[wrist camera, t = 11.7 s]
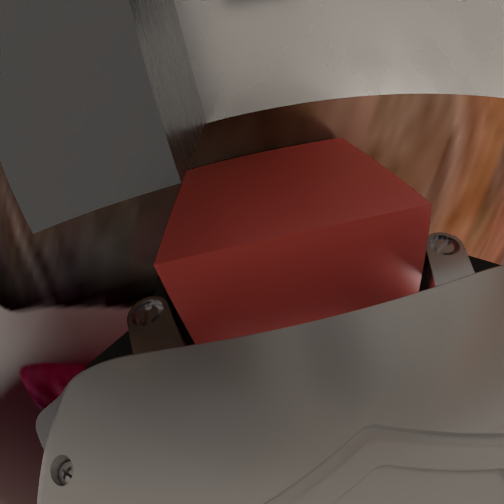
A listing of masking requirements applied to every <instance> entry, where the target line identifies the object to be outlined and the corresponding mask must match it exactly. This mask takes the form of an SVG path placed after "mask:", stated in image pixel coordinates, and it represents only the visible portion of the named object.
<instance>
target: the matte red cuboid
mask: <svg viewBox="0 0 504 504" xmlns="http://www.w3.org/2000/svg"><path fill="white" fill-rule="evenodd" d="M430 215H431V203H430V202H428V201H427V200H426V199H425V198H424V197H422V196H421V195H420V194H419V193H418V192H416V191H415V190H414V189H413V188H411V187H410V186H409V185H407V184H406V183H405V182H404V181H402V180H401V179H400V178H398V177H397V176H396V175H394V174H393V173H392V172H390V171H389V170H388V169H386V168H385V167H384V166H382V165H381V164H379V163H378V162H377V161H375V160H374V159H372V158H371V157H369V156H368V155H367V154H365V153H364V152H362V151H361V150H359V149H358V148H356V147H355V146H353V145H352V144H350V143H349V142H347V141H346V140H344V139H342V138H336V139H329V140H323V141H317V142H311V143H305V144H300V145H294V146H289V147H284V148H279V149H274V150H269V151H264V152H260V153H255V154H250V155H246V156H242V157H237V158H233V159H229V160H225V161H221V162H217V163H213V164H209V165H205V166H201V167H198V168H194V169H190V170H187V172H186V174H185V177H184V180H183V182H182V185H181V187H180V190H179V193H178V195H177V198H176V201H175V204H174V206H173V209H172V212H171V215H170V217H169V220H168V223H167V226H166V229H165V232H164V235H163V238H162V241H161V244H160V247H159V250H158V253H157V256H156V259H155V262H154V267H155V269H156V271H157V273H158V275H159V277H160V279H161V281H162V283H163V285H164V287H165V289H166V291H167V293H168V295H169V297H170V299H171V301H172V302H173V304H174V306H175V308H176V310H177V312H178V314H179V316H180V317H181V319H182V321H183V323H184V325H185V327H186V328H187V330H188V332H189V334H190V336H191V337H192V339H193V341H194V343H195V344H201V343H207V342H213V341H219V340H225V339H230V338H235V337H241V336H246V335H251V334H256V333H261V332H266V331H271V330H276V329H281V328H285V327H290V326H294V325H299V324H303V323H308V322H312V321H316V320H320V319H324V318H328V317H332V316H336V315H340V314H344V313H348V312H352V311H356V310H359V309H363V308H367V307H370V306H374V305H377V304H381V303H384V302H387V301H391V300H394V299H398V298H401V297H404V296H407V295H411V294H414V293H417V292H419V287H420V282H421V277H422V272H423V266H424V260H425V254H426V247H427V240H428V233H429V224H430Z"/></svg>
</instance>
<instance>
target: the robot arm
mask: <svg viewBox="0 0 504 504" xmlns="http://www.w3.org/2000/svg"><path fill="white" fill-rule="evenodd" d="M127 324H128V329H129V331H128V332H126V333H125V334H124V335H123V336H122V337H120V338H119V339H118V340H117V341H116V342H114V343H113V344H112V345H111V346H110V347H108V348H107V349H106V350H105V351H104V352H103V353H101V354H100V355H99V356H98V357H97V358H96V359H94V360H93V361H92V362H91V363H90V364H89V365H88V366H87V367H86V368H85V369H84V371H82V372H81V373H79V374H78V375H76V376H75V377H74V378H73V379H72V380H71V381H70V382H69V383H68V385H67V386H66V388H65V389H64V391H63V393H62V395H61V396H59V397H58V398H57V399H56V400H55V401H53V402H52V403H51V404H50V405H49V406H48V407H46V408H45V409H44V410H43V411H42V412H41V413H40V414H39V416H38V418H37V421H36V430H37V433H38V436H39V439H40V441H41V444H42V446H43V448H44V455H43V461H42V467H41V474H40V481H39V489H38V499H37V504H504V265H502V266H501V265H498V264H495V263H492V262H488V261H485V260H482V259H478V258H475V257H471V256H468V254H467V252H466V250H465V247H464V245H463V243H462V242H461V241H460V240H459V239H458V238H457V237H455V236H453V235H451V234H448V233H441V232H439V233H433V234H430V235H428V240H427V247H426V254H425V260H424V266H423V272H422V277H421V282H420V287H419V292H417V293H414V294H411V295H407V296H404V297H401V298H398V299H394V300H391V301H387V302H384V303H381V304H377V305H374V306H370V307H367V308H363V309H359V310H356V311H352V312H348V313H344V314H340V315H336V316H332V317H328V318H324V319H320V320H316V321H312V322H308V323H303V324H299V325H294V326H290V327H285V328H281V329H276V330H271V331H266V332H261V333H256V334H251V335H246V336H241V337H235V338H230V339H225V340H219V341H213V342H207V343H201V344H195V343H194V341H193V339H192V337H191V336H190V334H189V332H188V330H187V328H186V327H185V325H184V323H183V321H182V319H181V317H180V316H179V314H178V312H177V310H176V308H175V306H174V304H173V302H172V301H171V299H170V297H169V295H168V293H167V291H166V289H165V287H164V285H163V283H162V281H161V279H160V277H158V281H157V285H156V289H155V293H154V296H152V297H148V298H145V299H143V300H141V301H139V302H138V303H136V304H135V305H134V306H133V307H132V309H131V310H130V311H129V313H128V316H127Z"/></svg>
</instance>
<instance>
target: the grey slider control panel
mask: <svg viewBox="0 0 504 504" xmlns="http://www.w3.org/2000/svg"><path fill="white" fill-rule="evenodd" d="M418 93H432V94H463V95H478V96H489V97H499V98H504V0H0V162H1V165H2V168H3V170H4V173H5V175H6V178H7V180H8V182H9V185H10V187H11V189H12V192H13V194H14V196H15V198H16V200H17V203H18V205H19V207H20V209H21V211H22V213H23V215H24V217H25V219H26V221H27V223H28V225H29V227H30V229H31V231H32V233H33V234H34V233H37V232H39V231H42V230H44V229H46V228H49V227H52V226H54V225H57V224H59V223H62V222H64V221H67V220H70V219H72V218H75V217H78V216H80V215H83V214H86V213H89V212H92V211H94V210H97V209H100V208H103V207H106V206H109V205H112V204H115V203H118V202H121V201H124V200H127V199H130V198H133V197H136V196H140V195H143V194H146V193H149V192H153V191H156V190H159V189H163V188H166V187H170V186H173V185H177V184H180V183H182V180H183V178H184V175H185V173H186V170H187V168H188V165H189V163H190V160H191V158H192V156H193V153H194V151H195V148H196V146H197V144H198V141H199V139H200V137H201V134H202V132H203V130H204V128H205V125H206V123H209V122H213V121H217V120H221V119H225V118H229V117H233V116H238V115H242V114H246V113H251V112H256V111H261V110H266V109H271V108H276V107H282V106H288V105H294V104H300V103H306V102H313V101H321V100H329V99H337V98H346V97H357V96H370V95H386V94H418Z"/></svg>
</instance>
